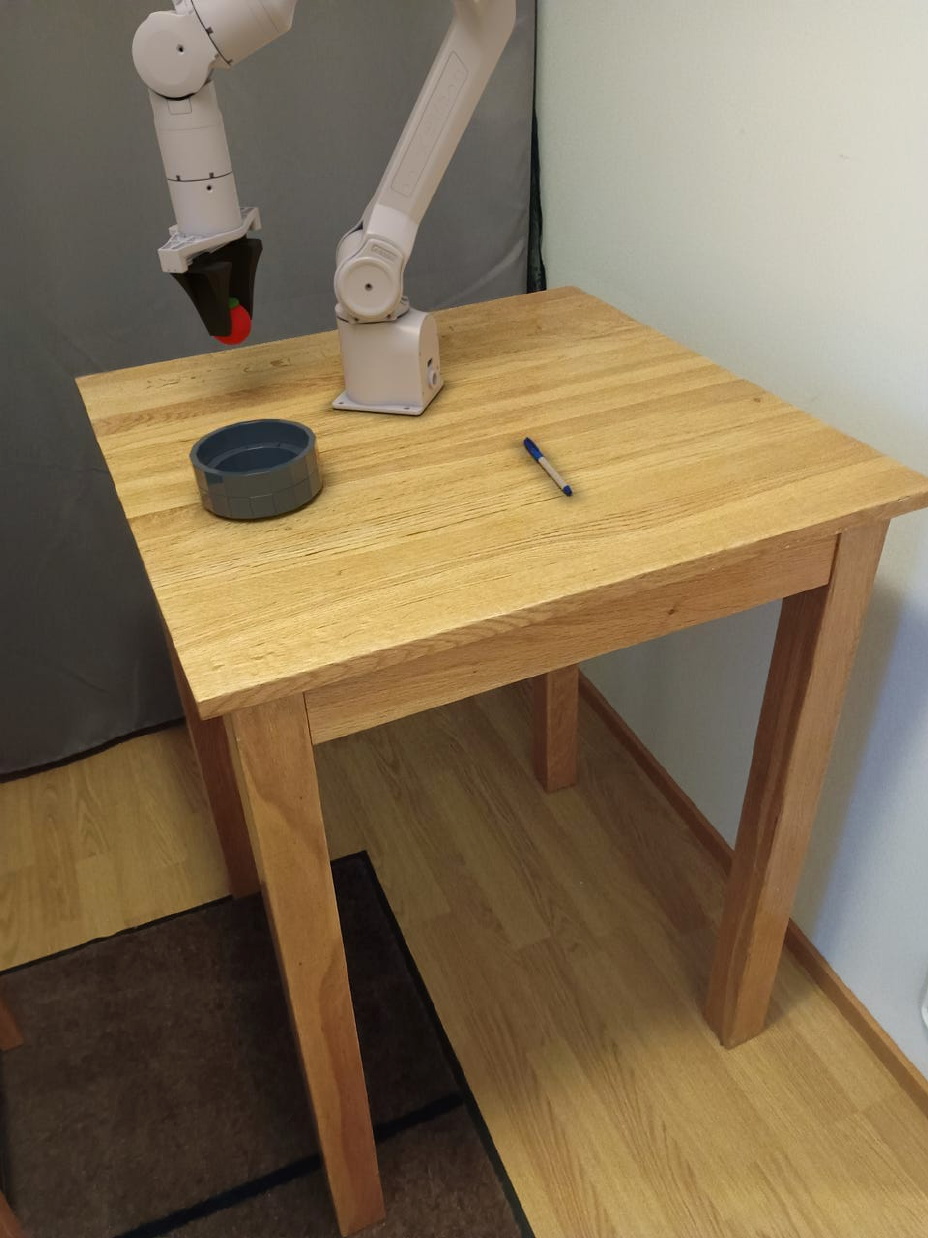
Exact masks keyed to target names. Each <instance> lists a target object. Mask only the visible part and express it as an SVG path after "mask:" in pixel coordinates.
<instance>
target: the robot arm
mask: <svg viewBox="0 0 928 1238" xmlns="http://www.w3.org/2000/svg"><path fill="white" fill-rule="evenodd" d="M171 2H172V4H173V5H174V10H173V9H171V10H165V11H164V10H161V11H160V10H159V11H155V12H151V13H150V14H148V16H147V18H146V19H144V21H143V22H141V24H140V25H139V26H138V28H137V30H136V32H135V34H134V36H133V39H132V45H131V53H132V61H133V64H134V66H135V69H136V72H137V73H138V75H139V77H140V78H141V80H142V81H143V82H144V84H146V86H147V91H148V95H149V96H148V97H149V103H150V105H151V109H152V113H153V123H154V124H153V125H154V129H155V133H156V138H157V142H158V146H159V151H160V155H161V159H162V164H163V168H164V172H165V177H166V181H167V185H168V189H169V194H170V198H171V204H172V209H173V211H174V216H175V221H176V224H174V225H172V226H171V227H169V228H168V233H169V236H170V238H169V240H168V241H167V242H166V243H165V244H163V246H161V247H160V248H157V254H158V257H159V261H160V266H161V270H162V273H169V274H170V275H171V276H172V277H173V279H175V281H176V282H177V283H178V284H179V285H180V286H181V288H183V290H184V291H185V293H186V294H187V296H188V297H189V299H190V300H191V303H192V304H193V306H194V308H195V310H196V311H197V313H198V315H199V317H200V319H201V321H202V323H203V325H204V327H205V329H206V331H207V334H208V335H209V336H210V337H214V336H220V337H228V336H230V335H231V332H232V322H231V313H230V305H229V298H236V299H238V301H239V305H241V306H242V307H244V308H245V310H246V311H247V312H248V314H249V316H250V319H251V321H252V320H253V316H254V315H253V314H254V296H255V283H256V282H255V281H256V275H257V274H256V273H257V270H258V265H259V261H260V258H261V255H262V252H263V250H264V249H263V242H262V239H260V238H256V237H255V238H251V237H247V233H249V232H257V231H259V230H261V229H262V223H261V217H260V212H259V207H254V206H240V202H239V198H238V192H237V186H236V182H235V177H234V172H233V171H234V170H233V167H232V161H231V157H230V151H229V145H228V141H227V140H228V139H227V136H226V129H225V123H224V119H223V114H222V111H221V110H220V108H219V102H218V97H217V93H216V87H215V82H214V79H213V78H212V76H213V74H214V72H215V69H216V68H219V69H223V70H229V69H230V68H232V67H233V66H235V65H236V64H238V63H240V62H242V61H243V60H244V59H246V58H247V57H249V56H250V55H252V54H254V53H255V52H257V51H258V50H260V49H262V48H263V47H265V46H266V45H268V44H269V43H271V42H272V41H274V40H276V39H277V38H279V37H281V36H282V35H284V34H285V33H287V32H289V31H290V30H291V29H292V25H293V19H294V14H295V8H296V7H295V6H296V5H297V3H298V2H300V0H171ZM449 2H450V6H451V9H452V14H453V17H452V20H451V23H450V25H449V27H448V30H447V32H446V34H445V36H444V38H443V41H442V43H441V45H440V47H439V50H438V51H437V54H436V56H435V59H434V61H433V63H432V65H431V68H430V70H429V72H428V74H427V77H426V79H425V81H424V83H423V86H422V87H421V90H420V92H419V95H418V97H417V99H416V101H415V104H414V106H413V107H412V110H411V112H410V115H409V117H408V118H407V120H406V124H405V126H404V127H403V131H402V133H401V135H400V136H399V139H398V142H397V143H396V146H395V147H394V150H393V153H392V154H391V157H390V159H389V161H388V163H387V166H386V168H385V171H384V173H383V175H382V177H381V180H380V181H379V184H378V186H377V188H376V191H375V193H374V195H373V196H372V198H371V199H370V201H369V202H368V204H367V206H366V207H365V209H364V211H363V213H362V215H361V218H360V220H359V221H358V223H357V224H355V226H354V227H352V228H351V229H350V230H348V231H347V232H346V233H345V234H344V235H343V236H342V237H341V239H340V240H339V241H338V244H337V247H336V251H335V264H336V270H335V272H334V277H333V290H334V295H335V298H336V300H337V302H338V303H336V304H335V306H334V312H335V313H334V314H335V320H336V326H337V335H338V342H339V348H340V356H341V357H340V358H341V363H342V371H343V379H344V387H345V389H344V390H343V391H342V392H341V393H340V394H339V395H338V396H337V397H336V398H335V400H333V401H332V403H331V407H332V408H333V409H337V410H349V411H350V410H351V411H363V412H375V413H387V414H399V415H412V416H418V415H421V414H422V413H423V412H424V411H425V409H426V408H427V407H428V406H429V404H430V403H431V402H432V400H433V399H434V398H435V396H437V394H439V393H438V392H440V390H441V389H442V388H443V386H444V385H445V382H444V381H445V380H443V379H442V371H441V358H440V357H441V356H440V345H439V344H440V343H439V331H438V325H437V321H436V319H435V315H434V314H432V313H431V312H427V311H421V310H418V309H416V308H413V307H412V306H411V305H410V300H409V297H408V296H407V295H404V272H405V269H406V265H407V264H408V261H409V259H410V257H411V254H412V251H413V248H414V244H415V241H416V237H417V234H418V230H419V227H420V225H421V222H422V220H423V219H424V216H425V214H426V212H427V210H428V208H429V206H430V204H431V202H432V199H433V197H434V196H435V193H436V191H437V189H438V187H439V185H440V184H441V183H440V182H441V181H442V179H443V176H444V174H445V173H446V170H447V168H448V167H449V165H450V162H451V160H452V158H453V155H455V151H456V149H457V147H458V146H459V143H460V141H461V139H462V137H463V135H464V133H465V131H466V128H467V126H468V125H469V123H470V120H471V118H472V116H473V114H474V112H475V110H476V108H477V106H478V104H479V102H480V99H481V98H482V95H483V93H484V91H485V89H486V87H487V85H488V83H489V81H490V79H491V77H492V74H493V72H494V71H495V68H496V66H497V64H498V63H499V60H500V58H501V56H502V54H503V52H504V49H505V48H506V45H507V43H508V42H509V39H510V37H511V35H512V33H513V31H514V27H515V24H516V19H517V7H516V6H517V5H516V4H517V3H516V0H449Z"/></svg>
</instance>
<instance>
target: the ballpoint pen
mask: <svg viewBox="0 0 928 1238" xmlns="http://www.w3.org/2000/svg"><path fill="white" fill-rule="evenodd" d="M522 443H523V445H524V446H525V448H526V450H527V451H528V452H529V454H531V456H532V457H533V458H534V459H535V460H536V462H537V463H538V464H540V465H541V467H543V469H544V470H545V471H546V472H547V473H548V474H549V476H550V477H551V478H552V480H554V482H555V483H556V484H557V485H558V487H559V488H560V489H561V490H562V492H563V493H565V494H567V495H568V496H571V495H573V491H572V488H571V487H570V485H569V484H568V483H567V482H566V481H565V480H564V478H563V477H562V476H561V475H560V473H558V471H557V470H556V469H555V468H554V467H553V465H552V464H551V463H550V462H549V461H548V460H547V459H546V456H545V455H544V454H543V452H542V451H540V448H539V447H538V446H537V445H536V443H535V442H534V441H533V440H532V438H530V437H528V436H525V439H524V440H523V441H522Z"/></svg>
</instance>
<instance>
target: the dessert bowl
mask: <svg viewBox="0 0 928 1238" xmlns="http://www.w3.org/2000/svg"><path fill="white" fill-rule="evenodd" d="M188 457H189V462H190V466H191V469H192V473H193V477H194V480H195V484H196V489H197V493H198V496H199V499H200V501H201V504H202V507H204V508H205V509H207V510H208V511H210V512H211V513H213V514H215V515H218V516H220V517H225V518H229V519H247V520H248V519H252V520H253V519H260V518H261V519H262V518H266V517H273V516H279V515H281V514H284V513H287V512H290V511H293V510H296V509H298V508H299V507H301V506H303V505H304V504H306V503H308V502H309V501H311V500H312V499H313V498H315V496H317V494H318V493H319V492H320V491H321V489H322V487H323V479H324V476H323V471H322V464H321V459H320V451H319V447H318V440H317V435H316V434H315V433H314V431H313V430H312V428H311V427H309V426H307V425H305V424H303V423H301V422H299V421H294V420H289V419H284V418H258V419H257V418H256V419H250V420H242V421H238V422H234V423H231V424H227V425H225V426H221V427H219V428H216V429H215V430H212V431H210V432H208V433H206V434H205V435H203V436H202V437H200V438H199V440H197V441H196V442H195V443H194V444H192V447H191V449H190V451H189V454H188Z"/></svg>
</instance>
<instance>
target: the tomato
mask: <svg viewBox="0 0 928 1238" xmlns="http://www.w3.org/2000/svg"><path fill="white" fill-rule="evenodd" d="M229 305H230V313H231V322H232V332H231V335H230V336H228V337H220V336H213V337H214V338H215V339H216V340H217V341H218V342H220V343H221V344H224V345H227V346H236V345H239V344H242V343H243V342H244V341H245V340H246V339H247V338H249V336H250V333H251V330H252V320H251V319H250V316H249V314H248V312H247V311H246V310H245V308H244V307H242V306H241V305H239V301H238V299H236V298H229Z"/></svg>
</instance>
